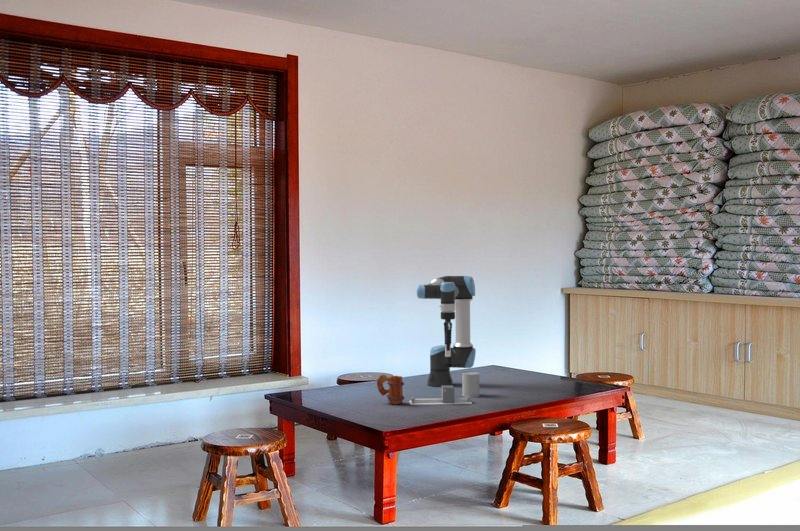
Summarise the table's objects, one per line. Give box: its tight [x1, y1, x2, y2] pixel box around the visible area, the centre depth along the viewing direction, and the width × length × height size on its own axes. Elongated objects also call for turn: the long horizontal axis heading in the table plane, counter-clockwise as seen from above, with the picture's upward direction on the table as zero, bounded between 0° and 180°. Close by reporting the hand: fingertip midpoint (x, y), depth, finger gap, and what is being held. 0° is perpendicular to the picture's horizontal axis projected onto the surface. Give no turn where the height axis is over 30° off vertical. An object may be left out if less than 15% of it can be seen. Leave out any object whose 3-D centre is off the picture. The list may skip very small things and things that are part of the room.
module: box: [440, 384, 456, 403], centre depth 406 cm, size 7×6×8 cm
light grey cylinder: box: [461, 371, 480, 398], centre depth 426 cm, size 10×10×12 cm
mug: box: [376, 374, 405, 405], centre depth 405 cm, size 15×8×15 cm, turn 73°
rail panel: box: [408, 396, 473, 406], centre depth 406 cm, size 9×32×3 cm, turn 94°
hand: (447, 356), depth 406 cm, fingers closed
